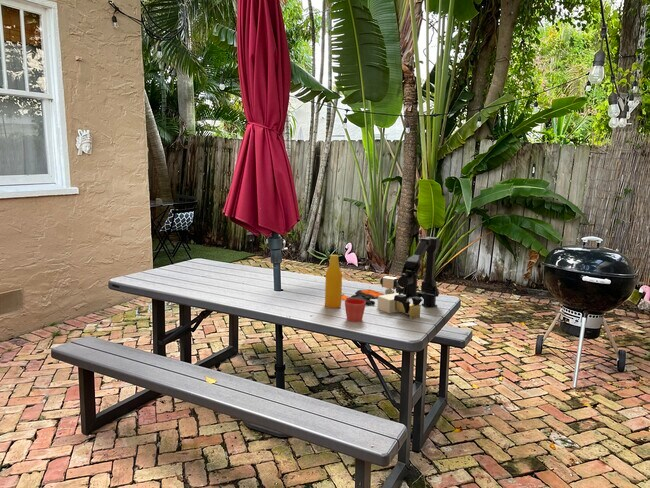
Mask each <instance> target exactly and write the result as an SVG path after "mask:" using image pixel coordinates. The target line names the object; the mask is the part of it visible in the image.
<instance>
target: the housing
mask: <svg viewBox="0 0 650 488" xmlns="http://www.w3.org/2000/svg"><path fill="white" fill-rule="evenodd" d="M395 295H399V293H396V292H394V293H393V294H387V295H386V294H385V295H381V296H378V299H377V309H378V310H381V311H383V312H386V313H387V314H391V313H392V314H393V313H398V312H399V311H398V310H395V300H394V296H395ZM401 295H403V294H401ZM404 296H406V295H404ZM408 301H409V302H410V299H408Z"/></svg>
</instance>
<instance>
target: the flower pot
mask: <svg viewBox="0 0 650 488" xmlns="http://www.w3.org/2000/svg"><path fill="white" fill-rule="evenodd" d="M366 305H367V304H366V302H365V301H364V300H361V299H347V300H344V308H345V315H346V316H345V317H346V320H347V321H348V322H353V323H356V322H358V323H359V322H361V321H363V318H364V312H365V308H366Z"/></svg>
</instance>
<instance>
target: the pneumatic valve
mask: <svg viewBox="0 0 650 488" xmlns="http://www.w3.org/2000/svg"><path fill="white" fill-rule="evenodd" d="M398 279H399V277H393V276H392V275H389V276H387V275H385V276H382V277H381V278H380V280H379V281H380V282H379V284H380V285H381V288H385V292H384V294H385V295H387V294H393V293H395V291H394V290H396V287H400V286H399V284H398Z"/></svg>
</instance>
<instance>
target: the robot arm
mask: <svg viewBox="0 0 650 488" xmlns="http://www.w3.org/2000/svg"><path fill="white" fill-rule="evenodd" d="M440 245H441V240H440V238H439V237H434V236H426V237H420V241H419V243H418V245H417V248H416V249H415V251H414V252H413V255H411V256H409V257H407V259H406V261H405V262H404V265H403V267H402V271H401V276H400V277H398V284H399V287H396V289H395V293H399V295H395V296H394V300H395V301H398V302H400V303H402V304H403V306H404V310H405V313H408V310H409V305H410V303H411V302H410V299H411V301H412V303H413V304H415V305H422V306H424V307H426V308H433V307H438V304H436V301H437V300H436V299H437V298H438V297H439V295H440V290H439V288H438V287H437V285H438V284H437V281H436V279H435V269H436V267H435V266H436V254H437V251H438V250H439V249H440ZM425 253H426V258H425V259H426V263H425V274H424V275H425V276H424V277H425V278H424V279H423V280H422V281H421V286H420V287H419V286H418V275H419V274H420V273H419V272H420V269H421V267H422V263H421V261H422V259H423V258H424V255H425ZM419 288H420V291H418V289H419ZM401 294H402V295H401ZM404 295H405V296H404ZM408 299H409V301H408ZM422 301H423V303H422ZM405 313H404V314H405Z"/></svg>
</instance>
